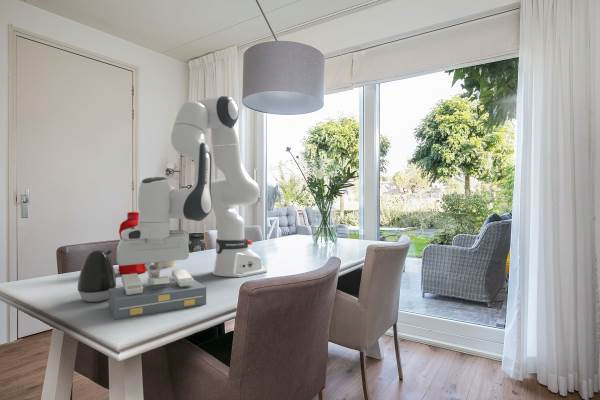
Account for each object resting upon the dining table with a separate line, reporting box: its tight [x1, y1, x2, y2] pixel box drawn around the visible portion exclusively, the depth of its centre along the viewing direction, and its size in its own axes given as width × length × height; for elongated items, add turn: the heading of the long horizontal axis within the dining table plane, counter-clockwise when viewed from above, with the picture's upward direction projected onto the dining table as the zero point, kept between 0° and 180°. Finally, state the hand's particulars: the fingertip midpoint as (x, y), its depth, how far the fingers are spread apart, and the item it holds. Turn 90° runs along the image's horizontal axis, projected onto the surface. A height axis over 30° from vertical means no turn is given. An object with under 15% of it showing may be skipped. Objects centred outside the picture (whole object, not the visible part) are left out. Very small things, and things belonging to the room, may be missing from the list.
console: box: [108, 279, 207, 320], centre depth 102 cm, size 24×13×6 cm, turn 125°
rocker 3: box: [171, 268, 195, 287], centre depth 106 cm, size 4×9×2 cm, turn 35°
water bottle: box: [118, 211, 147, 275], centre depth 144 cm, size 9×11×25 cm
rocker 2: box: [147, 276, 171, 285], centre depth 102 cm, size 4×9×2 cm, turn 35°
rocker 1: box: [121, 273, 143, 295], centre depth 98 cm, size 4×9×2 cm, turn 35°
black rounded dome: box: [77, 249, 117, 303], centre depth 107 cm, size 10×10×15 cm
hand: (153, 277), depth 106 cm, fingers closed, pressing on rocker 2
